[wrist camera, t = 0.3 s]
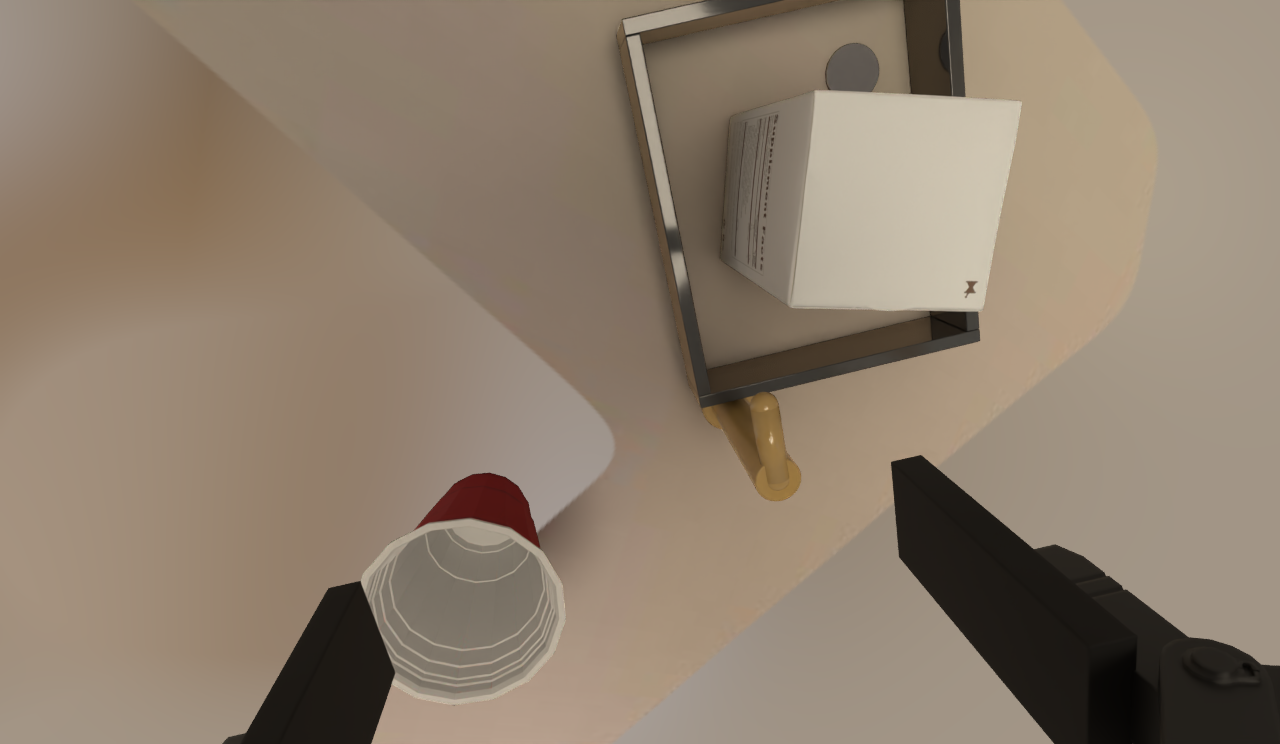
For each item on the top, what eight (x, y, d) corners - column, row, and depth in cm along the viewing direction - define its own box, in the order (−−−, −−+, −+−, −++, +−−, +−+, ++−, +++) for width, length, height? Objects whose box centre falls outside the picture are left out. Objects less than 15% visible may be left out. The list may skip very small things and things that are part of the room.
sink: (616, 35, 38) (635, -21, 26) (914, -33, 39) (1063, -117, 27) (698, 432, 46) (742, 524, 34) (945, 372, 46) (1072, 443, 35)
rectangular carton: (873, 119, 41) (1035, 96, 27) (853, 266, 44) (990, 317, 29) (727, 110, 40) (813, 82, 26) (715, 262, 43) (787, 312, 28)
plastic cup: (595, 477, 46) (604, 580, 35) (521, 598, 48) (506, 732, 37) (450, 406, 44) (407, 492, 32) (379, 537, 46) (315, 660, 35)
